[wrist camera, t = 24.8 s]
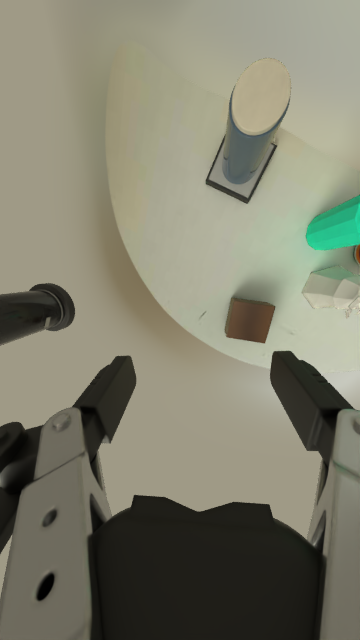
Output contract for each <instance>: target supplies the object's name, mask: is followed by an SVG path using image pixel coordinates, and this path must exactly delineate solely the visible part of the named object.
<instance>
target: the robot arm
mask: <svg viewBox="0 0 360 640" xmlns="http://www.w3.org/2000/svg"><path fill="white" fill-rule="evenodd" d="M64 315H65V311H64V306H63V304H62V302H61V300H60V299H59V297H58V296H57V295H56V294H54V293H53V292H51V291H49V290H45V289H41V290H35V291H27V292H18V293H10V294H1V295H0V345H3V344H6V343H9V342H11V341H14V340H17V339H20V338H23V337H25V336H28V335H31V334H34V333H37V332H39V331H42V330H45V329H48V328H50V327H54V326H57V325H59V324H60V323H61V322H62V321H63V319H64ZM270 379H271V384H272V386H273V388H274V390H275V392H276V394H277V396H278V398H279V399H280V401H281V403H282V405H283V407H284V409H285V411H286V413H287V414H288V416H289V418H290V420H291V422H292V424H293V426H294V428H295V429H296V431H297V433H298V435H299V437H300V439H301V440H302V443H303V444H304V446H305V448H306V450H307V451H319V453H320V455H321V456H322V461H321V466H320V472H319V478H318V485H317V491H316V498H315V504H314V510H313V515H312V519H311V523H310V527H309V532H308V536H307V540H306V539H305V538H304V537H303V536H302V535H300V534H299V533H298V532H296V531H295V530H294V529H292V528H291V527H289V526H288V525H286V524H284V523H283V522H280V521H279V520H277V519H275V518H273V516H272V512H271V509H270V505H269V504H256V503H242V502H232V503H228V504H225V505H222V506H218V507H215V508H212V509H208V510H205V511H201V512H197V511H194V510H192V509H190V508H188V507H186V506H183V505H181V504H179V503H176V502H175V501H172V500H170V499H168V498H166V497H155V496H139V495H134V498H133V501H132V505H131V507H130V508H127V509H125V510H123V511H121V512H119V513H117V514H116V515H114V516H113V517H112V514H111V510H110V507H109V504H108V501H107V497H106V492H105V486H104V480H103V474H102V469H101V463H100V457H99V452H98V449H99V446H100V445H101V443H111V441H112V438H113V436H114V434H115V432H116V429H117V427H118V425H119V423H120V420H121V418H122V416H123V414H124V411H125V409H126V407H127V404H128V402H129V400H130V398H131V395H132V393H133V391H134V389H135V386H136V374H135V371H134V366H133V362H132V359H131V357H130V356H117V357H115V359H114V360H113V361H112V363H111V364H110V365H107V366H106V367H105V368H103V369H102V370H100V371H99V373H98V374H97V376H96V377H95V379H93V380H92V382H91V383H90V385H89V386H88V387H87V388H86V389H85V391H84V392H83V393H82V395H81V396H80V397H79V398H78V400H77V401H76V402H75V404H74V405H73V406H72V407H71V408H67V409H64V410H61V411H59V412H58V413H56V414H55V415H53V416H52V417H51V418H50V419H49V420H48V421H47V422H46V423H45V424H44V425H42V426H38V427H34V428H31V429H27V430H25V429H24V427H23V426H22V424H21V423H19V422H11V423H8V424H5V425H3V426H1V427H0V554H1V552H2V550H3V549H4V547H5V545H6V544H7V542H8V540H9V539H10V537H11V535H12V534H13V536H12V542H11V546H10V551H9V556H8V562H7V567H6V572H5V577H4V583H3V588H2V593H1V598H0V640H360V411H359V410H355V409H354V408H353V407H352V406H351V405H350V404H349V403H348V402H347V401H346V400H345V399H344V398H343V397H342V396H341V395H340V394H339V392H338V391H337V390H335V388H334V387H333V386H332V385H331V384H330V383H328V382H327V380H326V379H325V378H324V377H323V376H321V374H320V373H319V372H318V371H317V370H316V369H315V368H314V367H313V366H312V365H310V364H308V363H307V362H305V361H303V360H298V358H297V357H296V356H295V355H294V354H293V353H292V352H291V351H274V352H273V355H272V363H271V372H270Z"/></svg>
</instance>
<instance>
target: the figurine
mask: <svg viewBox="0 0 360 640" xmlns="http://www.w3.org/2000/svg"><path fill="white" fill-rule="evenodd" d="M302 294H303V295H304V296H305V298H306V299H307V300H308V302H309V303H310V304H311V306H312V307H313V308H324V307H335V308H336V309H348V310H347V311H346V319H347V318H348V317H349V315H350V313H351V310H352V309H357V308H360V275H356V274H353V273H351V272H349V271H348V270H346V269H344V268H343V267H341V266H339V265H338V266H334V267H331V268H327V269H323V270H320V271H316V272H313V273H311V274H310V276H309V278H308V280H307V282H306V284H305V287H304V289H303V291H302ZM357 314H360V310H359V311H358V312H357V313H356V314H355V315H357Z"/></svg>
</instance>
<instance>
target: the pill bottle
mask: <svg viewBox="0 0 360 640" xmlns="http://www.w3.org/2000/svg"><path fill="white" fill-rule="evenodd" d="M354 257H355V260H356V262H357V263H358V264H359V265H360V244H359V245H356V247H355V250H354Z"/></svg>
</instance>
